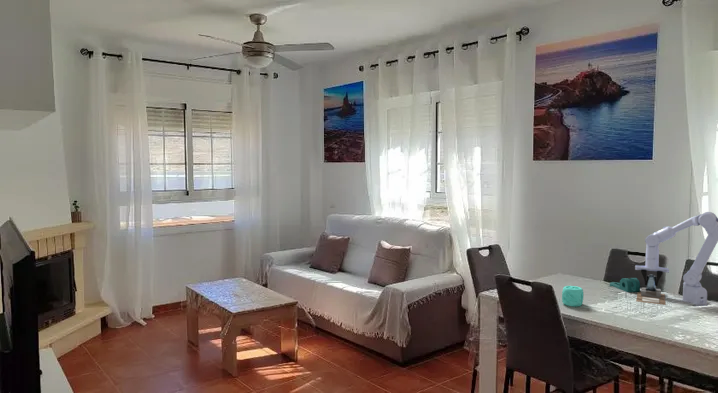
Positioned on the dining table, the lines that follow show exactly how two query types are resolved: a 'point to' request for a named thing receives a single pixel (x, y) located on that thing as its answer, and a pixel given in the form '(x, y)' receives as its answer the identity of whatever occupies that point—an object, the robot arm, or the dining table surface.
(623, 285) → the bracket
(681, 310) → the dining table surface
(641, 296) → the housing plate
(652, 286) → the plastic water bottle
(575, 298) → the decorative dice
